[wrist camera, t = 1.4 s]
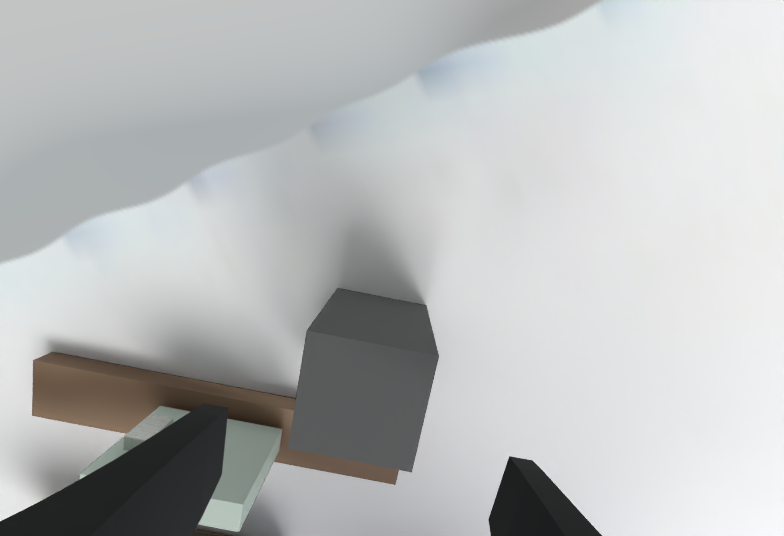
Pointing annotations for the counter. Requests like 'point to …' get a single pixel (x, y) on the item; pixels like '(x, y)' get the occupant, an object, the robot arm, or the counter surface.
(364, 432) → the block
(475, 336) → the counter surface
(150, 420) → the pale green block
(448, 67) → the counter surface
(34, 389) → the door frame
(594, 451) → the counter surface
